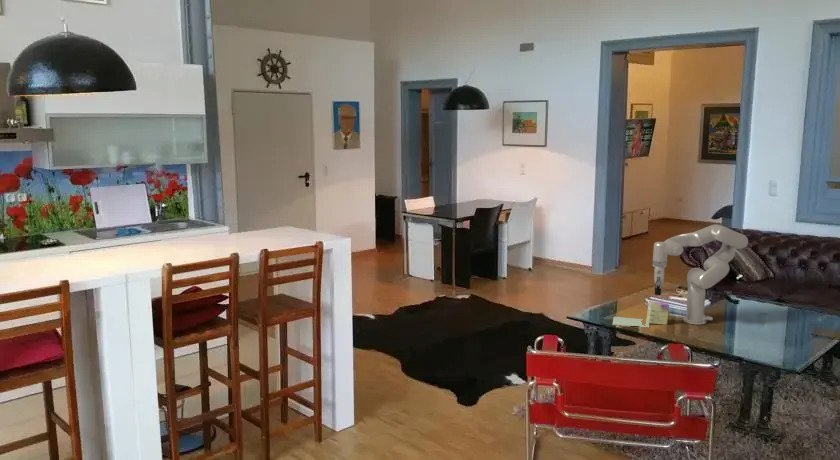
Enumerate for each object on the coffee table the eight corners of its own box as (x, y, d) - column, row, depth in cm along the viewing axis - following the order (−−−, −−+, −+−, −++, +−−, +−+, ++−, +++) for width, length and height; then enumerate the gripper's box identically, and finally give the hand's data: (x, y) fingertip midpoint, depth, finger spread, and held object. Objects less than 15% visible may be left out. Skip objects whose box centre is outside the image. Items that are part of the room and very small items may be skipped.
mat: (649, 320, 393) (649, 319, 393) (649, 328, 380) (649, 327, 380) (613, 317, 399) (613, 316, 399) (612, 324, 386) (612, 323, 386)
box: (664, 321, 390) (666, 302, 388) (666, 324, 385) (669, 305, 382) (646, 320, 391) (648, 300, 389) (648, 323, 386) (650, 303, 383)
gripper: (666, 267, 372) (664, 297, 376) (666, 260, 389) (664, 289, 392) (652, 266, 375) (650, 296, 378) (652, 259, 391) (650, 288, 394)
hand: (657, 292), depth 385 cm, fingers open, 9 cm apart
